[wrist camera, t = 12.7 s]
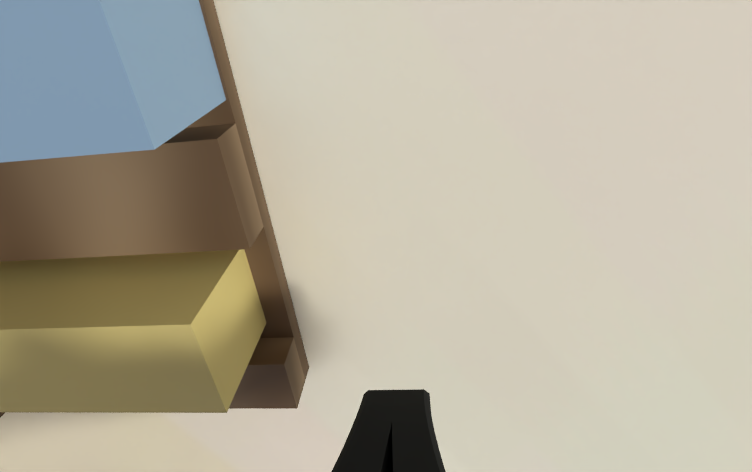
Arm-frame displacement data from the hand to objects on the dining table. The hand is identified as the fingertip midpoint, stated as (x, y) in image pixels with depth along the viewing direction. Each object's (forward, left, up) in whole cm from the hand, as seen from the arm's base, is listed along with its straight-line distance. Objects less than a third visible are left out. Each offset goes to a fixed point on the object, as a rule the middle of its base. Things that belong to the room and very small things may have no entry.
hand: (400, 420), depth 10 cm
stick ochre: (+1, +10, -4) cm, 11 cm away
